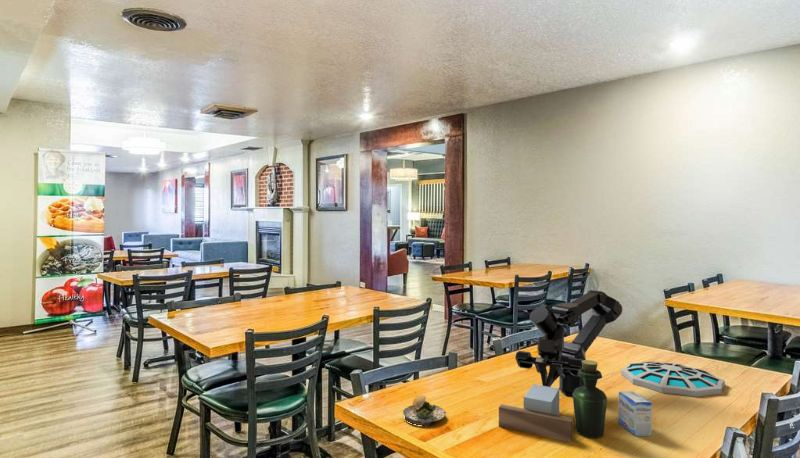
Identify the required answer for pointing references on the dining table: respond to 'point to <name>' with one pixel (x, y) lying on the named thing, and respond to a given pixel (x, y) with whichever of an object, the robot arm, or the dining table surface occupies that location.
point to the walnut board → (536, 422)
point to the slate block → (542, 399)
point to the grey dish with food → (423, 412)
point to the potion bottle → (589, 402)
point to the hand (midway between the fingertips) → (545, 390)
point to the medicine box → (635, 413)
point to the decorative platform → (673, 378)
